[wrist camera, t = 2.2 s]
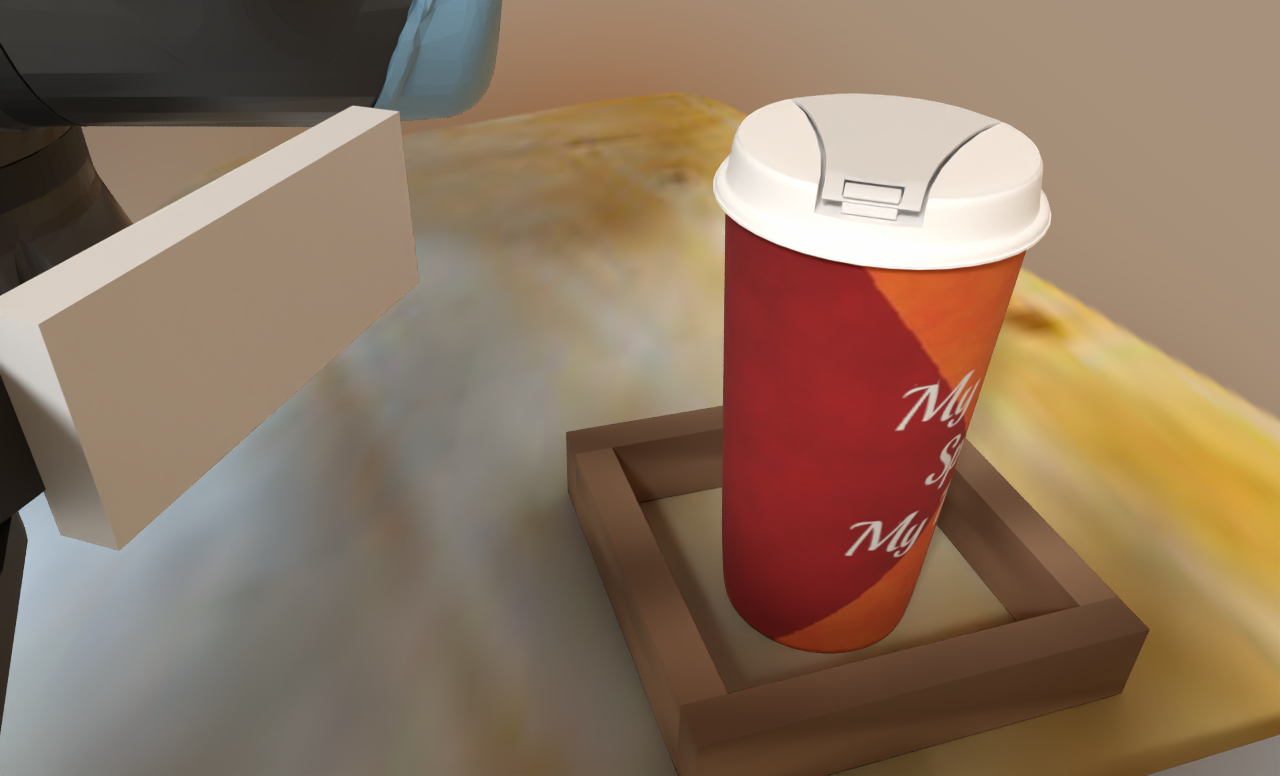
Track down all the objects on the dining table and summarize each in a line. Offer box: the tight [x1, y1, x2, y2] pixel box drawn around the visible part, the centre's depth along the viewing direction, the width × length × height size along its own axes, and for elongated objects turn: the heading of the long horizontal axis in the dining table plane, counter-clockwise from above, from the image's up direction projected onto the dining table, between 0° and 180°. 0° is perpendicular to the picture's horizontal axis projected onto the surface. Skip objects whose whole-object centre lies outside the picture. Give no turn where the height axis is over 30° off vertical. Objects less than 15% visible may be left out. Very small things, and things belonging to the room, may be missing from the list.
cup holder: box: [566, 406, 1149, 776], centre depth 30 cm, size 12×12×2 cm
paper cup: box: [713, 94, 1051, 653], centre depth 26 cm, size 8×8×14 cm
